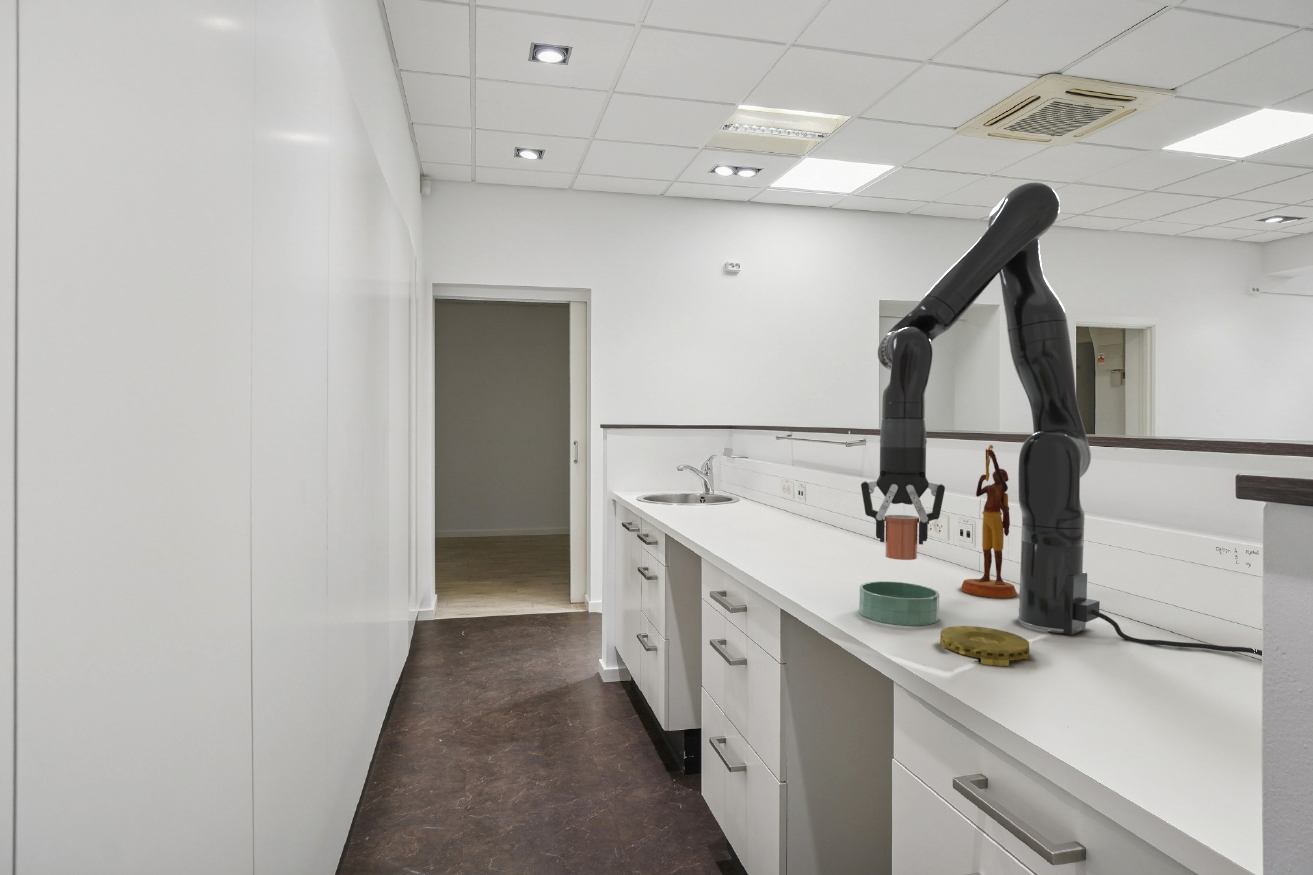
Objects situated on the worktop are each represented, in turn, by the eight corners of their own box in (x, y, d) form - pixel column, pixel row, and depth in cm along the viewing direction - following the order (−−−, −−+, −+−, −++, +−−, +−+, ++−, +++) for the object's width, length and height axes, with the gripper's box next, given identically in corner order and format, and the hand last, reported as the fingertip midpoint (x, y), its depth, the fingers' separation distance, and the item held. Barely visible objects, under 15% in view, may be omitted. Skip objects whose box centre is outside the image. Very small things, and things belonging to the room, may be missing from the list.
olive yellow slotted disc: (998, 671, 98) (999, 655, 98) (923, 647, 108) (923, 632, 108) (1045, 656, 105) (1045, 642, 105) (970, 635, 115) (970, 622, 115)
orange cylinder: (925, 557, 123) (925, 517, 123) (907, 561, 119) (908, 519, 119) (895, 553, 128) (895, 513, 127) (877, 556, 124) (877, 516, 124)
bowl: (952, 620, 123) (953, 592, 123) (911, 633, 115) (912, 603, 115) (886, 604, 133) (886, 578, 133) (843, 615, 125) (844, 587, 125)
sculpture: (951, 588, 148) (955, 443, 148) (991, 585, 151) (995, 444, 151) (986, 599, 139) (991, 445, 138) (1028, 597, 142) (1033, 446, 141)
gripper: (858, 444, 122) (856, 543, 122) (948, 446, 117) (947, 548, 118) (861, 444, 129) (859, 537, 129) (946, 445, 124) (945, 542, 125)
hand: (901, 542), depth 123 cm, fingers closed on orange cylinder, 5 cm apart
